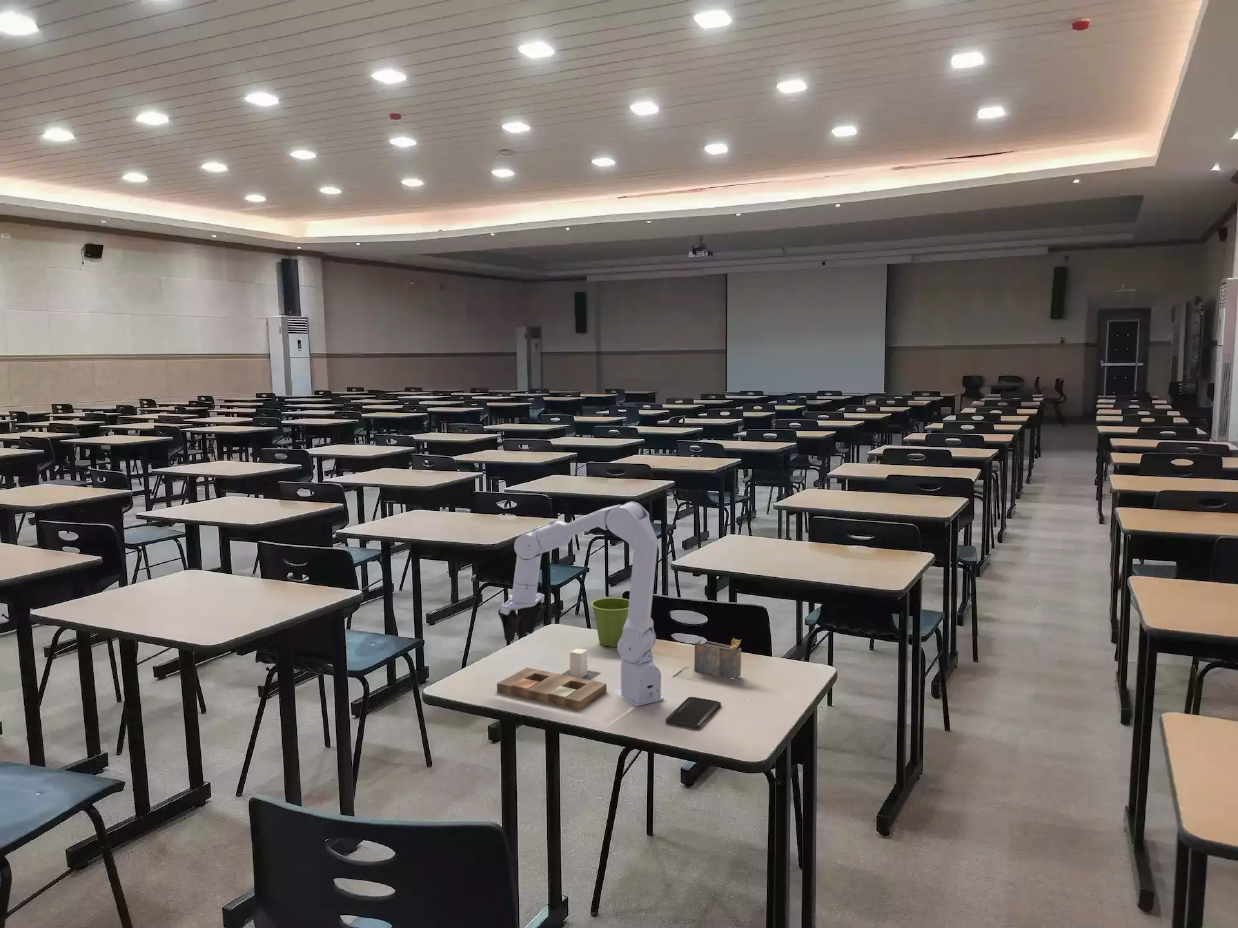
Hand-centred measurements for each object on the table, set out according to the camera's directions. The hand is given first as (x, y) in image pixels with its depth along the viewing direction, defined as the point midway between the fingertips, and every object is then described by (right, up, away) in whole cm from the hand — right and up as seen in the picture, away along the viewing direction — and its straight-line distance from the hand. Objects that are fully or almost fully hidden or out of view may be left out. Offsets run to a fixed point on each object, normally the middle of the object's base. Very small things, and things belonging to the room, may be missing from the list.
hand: (518, 636), depth 201 cm
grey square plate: (+14, -10, +2) cm, 18 cm away
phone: (+40, -13, -19) cm, 47 cm away
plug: (+14, -10, +2) cm, 17 cm away
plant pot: (+22, -8, +28) cm, 37 cm away
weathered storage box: (+48, -11, +6) cm, 50 cm away
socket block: (+9, -11, -9) cm, 17 cm away
